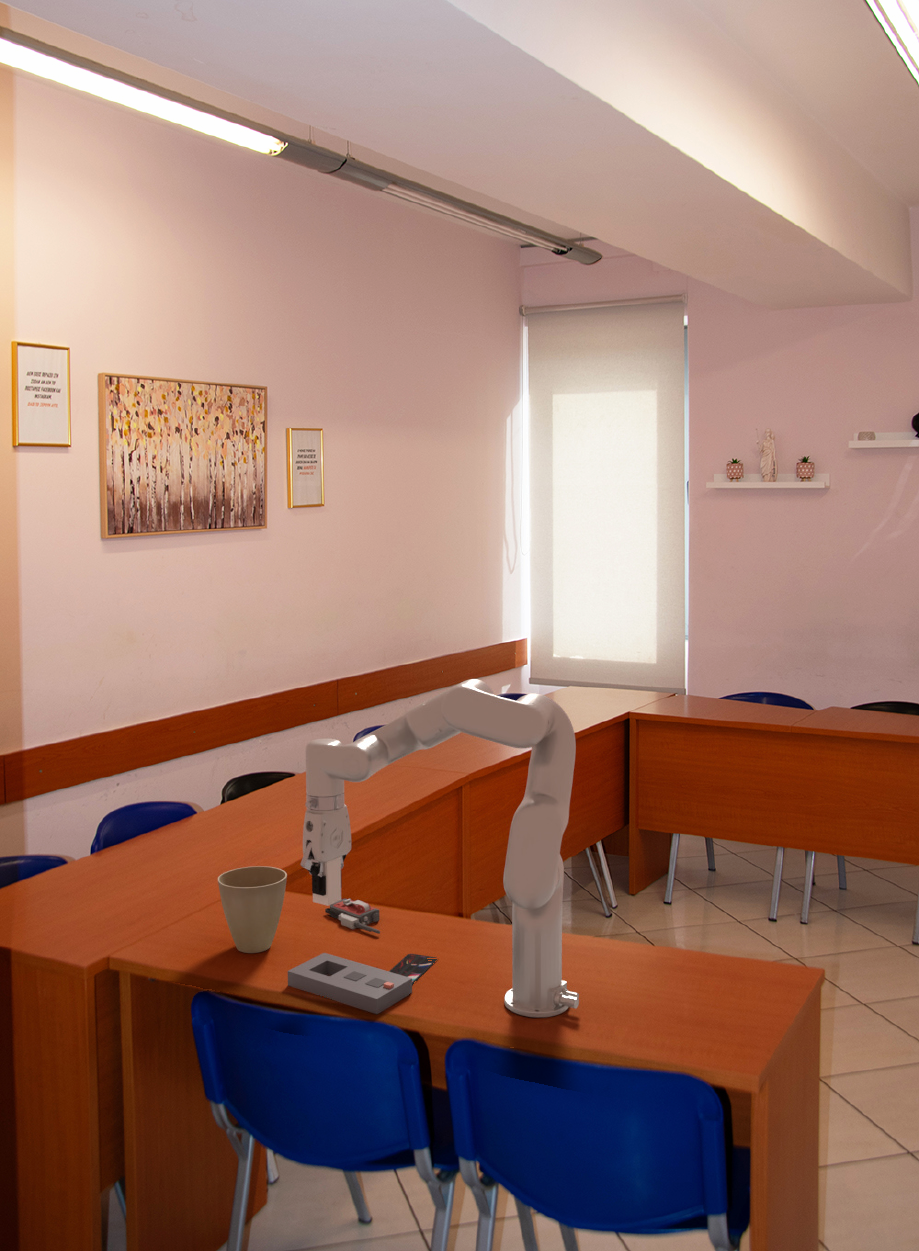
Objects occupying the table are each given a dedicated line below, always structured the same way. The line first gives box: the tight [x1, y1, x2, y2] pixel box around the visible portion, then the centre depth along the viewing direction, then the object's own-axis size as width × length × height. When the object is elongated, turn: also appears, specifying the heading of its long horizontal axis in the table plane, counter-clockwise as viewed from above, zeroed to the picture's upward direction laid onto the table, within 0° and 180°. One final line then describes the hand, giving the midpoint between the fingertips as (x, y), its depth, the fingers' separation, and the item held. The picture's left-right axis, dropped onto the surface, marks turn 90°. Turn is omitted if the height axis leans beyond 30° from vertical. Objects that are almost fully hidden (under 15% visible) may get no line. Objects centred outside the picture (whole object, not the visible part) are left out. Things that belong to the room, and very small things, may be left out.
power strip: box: [287, 952, 413, 1015], centre depth 209 cm, size 23×11×4 cm, turn 56°
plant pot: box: [217, 865, 288, 954], centre depth 230 cm, size 15×15×16 cm
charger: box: [312, 857, 342, 907], centre depth 210 cm, size 4×4×9 cm
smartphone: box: [388, 953, 438, 986], centre depth 218 cm, size 7×1×15 cm
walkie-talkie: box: [324, 898, 381, 935], centre depth 245 cm, size 9×4×20 cm
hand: (326, 889), depth 211 cm, fingers closed on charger, 4 cm apart
